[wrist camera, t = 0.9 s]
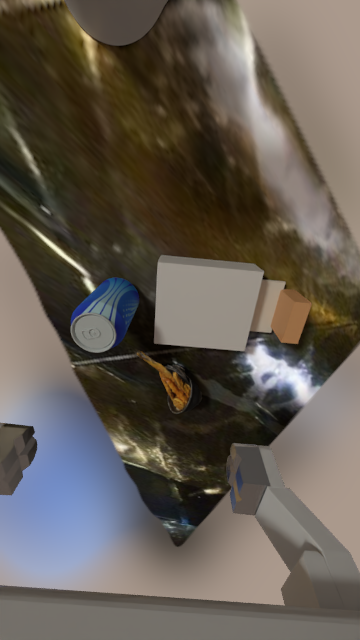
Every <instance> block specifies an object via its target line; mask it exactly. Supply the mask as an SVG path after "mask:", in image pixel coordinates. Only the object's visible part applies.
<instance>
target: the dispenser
mask: <svg viewBox="0 0 360 640" xmlns="http://www.w3.org/2000/svg"><path fill="white" fill-rule="evenodd" d="M263 274H264V271H263V270H261V269H260V268H259V267H258V266H256V265H255V264H250V263H239V262H229V261H218V260H207V259H197V258H186V257H176V256H165V255H161V256H160V259H159V261H158V269H157V290H156V310H155V331H154V344H166V345H177V346H189V347H201V348H212V349H224V350H235V351H245V347H246V343H247V339H248V335H249V331H250V327H251V323H252V319H253V315H254V310H255V306H256V302H257V298H258V294H259V290H260V286H261V282H262V278H263Z"/></svg>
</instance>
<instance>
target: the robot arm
mask: <svg viewBox="0 0 360 640" xmlns="http://www.w3.org/2000/svg"><path fill="white" fill-rule="evenodd" d="M64 1H65V3H66V5H67V7H68V8H69V10H70V12H71V14H72V15H73V17H74V18H75V20H76V21H77V22H78V24H79V25H80V26H81V27H82V28H83V29H84V30H85V31H86V32H87V33H88V34H89V35H91V36H92V37H93V38H95V39H97V40H98V41H100V42H103V43H105V44H109V45H115V46H122V45H127V44H131V43H133V42H135V41H137V40H139V39H140V38H142V37H143V36H144V35H145V34H146V33H147V32H148V31H149V30H150V29H151V28H152V27H153V25H154V24H155V22H156V21H157V19H158V17H159V15H160V13H161V11H162V10H163V8H164V6H165V4H166V3H167V1H168V0H64ZM34 433H35V431H34V428H33V426H25V425H15V424H7V423H0V495H12V494H13V492H14V491H15V489H16V487H17V486H18V484H19V482H20V481H21V479H22V478H23V474H22V471H23V470H24V469H26V468H27V467H28V466H30V464H31V462H32V461H33V459H34V457H35V454H36V451H37V441H36V439H34V437H33V434H34ZM230 450H231V455H230V456H229V457H228V460H227V479H228V483H229V484H230V485H231V487H232V489H231V492H230V498H231V504H232V510H233V513H238V514H247V515H255V518H256V519H257V521H258V522H259V524H260V526H261V527H262V528H263V530H264V532H265V533H266V535H267V536H268V538H269V539H270V541H271V542H272V544H273V546H274V547H275V549H276V550H277V552H278V553H279V555H280V556H281V558H282V559H283V561H284V563H285V564H286V566H287V567H288V569H289V570H290V572H291V573H290V575H289V577H288V578H287V580H286V582H285V583H284V585H283V587H282V588H281V591H282V596H283V600H284V604H285V606H283V605H269V604H255V603H241V602H226V601H213V600H198V599H185V598H170V597H157V596H143V595H128V594H113V593H100V592H86V591H72V590H57V589H43V588H29V587H16V586H2V585H0V640H360V573H359V570H358V568H357V566H356V564H355V562H354V560H353V558H352V556H351V554H350V552H349V551H348V550H347V549H346V548H345V547H344V546H343V545H342V544H341V543H340V542H339V541H338V540H337V539H336V537H335V536H334V535H333V534H332V533H331V532H330V531H329V530H328V529H327V528H326V527H325V526H324V525H323V524H322V522H321V521H320V520H319V519H318V518H317V517H316V516H315V515H314V514H313V513H312V512H311V511H310V510H309V509H308V508H307V507H306V505H305V504H304V503H303V502H302V501H301V500H300V499H299V498H298V497H297V496H296V495H295V494H294V493H293V492H292V491H291V489H290V488H285V485H284V482H283V480H282V477H281V474H280V471H279V469H278V466H277V463H276V461H275V458H274V455H273V453H272V450H271V448H270V447H269V446H256V445H248V444H234V443H233V444H232V446H231V449H230Z"/></svg>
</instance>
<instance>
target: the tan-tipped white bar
mask: <svg viewBox="0 0 360 640" xmlns="http://www.w3.org/2000/svg"><path fill="white" fill-rule="evenodd" d="M285 283H286V282H285V281H275V280H264V279H262V282H261V286H260V290H259V294H258V298H257V302H256V306H255V310H254V315H253V319H252V323H251V327H250V331H255V332H267V333H271V331H272V329H273V331H274V332H275V334H276V335H277V337H278V338H279V340H280V341H281V342H282V343H293V344H298V342H299V339H300V336H301V333H302V330H303V327H304V325H305V322H306V319H307V316H308V313H309V310H310V308H311V305H312V303H311V302H309V301H308V300H307V299H306V298H304V297H303V296H302V295H301V294H299V293H298V292H297V291H296V290H290V289H284V286H285Z"/></svg>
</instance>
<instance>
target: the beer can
mask: <svg viewBox="0 0 360 640" xmlns="http://www.w3.org/2000/svg"><path fill="white" fill-rule="evenodd" d="M138 304H139V295H138V292H137V290H136V288H135V287H134V286H133V285H132V284H131V283H130V282H129V281H127V280H125V279H122V278H110V279H107V280H105V281H104V282H103V283H102V284H101V285H100V286H98V287H97V288H96V289H95V290H94V291H93V292H92V293H91V294H90V295H89V296H88V297H87V298H86V299H85V300H84V301H83V302H82V303H81V304H80V305H79V306H78V307H77V308H76V309H75V311H74V312H73V314H72V318H71V334H72V337H73V339H74V341H75V342H76V343H77V344H78V345H79V346H80V347H81V348H83V349H85V350H87V351H90V352H104V351H106V350H108V349H110V348H113V347H115V346H116V345H118V344H119V343H120V342H121V341H122V339H123V338H124V336H125V334H126V331H127V329H128V327H129V325H130V323H131V320H132V318H133V316H134V314H135V311H136V309H137V307H138Z"/></svg>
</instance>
